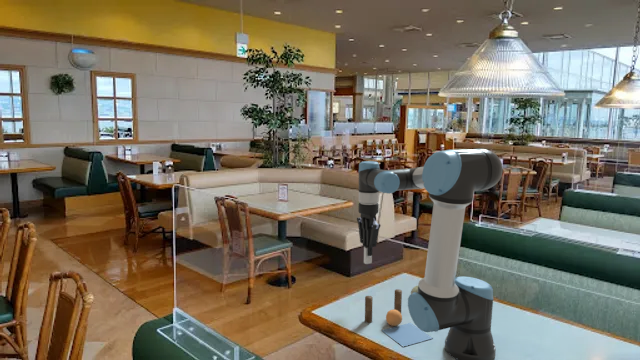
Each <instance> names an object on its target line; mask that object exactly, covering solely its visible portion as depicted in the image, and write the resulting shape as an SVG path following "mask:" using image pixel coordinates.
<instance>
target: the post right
mask: <svg viewBox="0 0 640 360" xmlns="http://www.w3.org/2000/svg"><path fill="white" fill-rule="evenodd" d="M402 294H403V290H402V289H394V306H393V308H394V309H395V310H398V311H399V312H400V313H401V314H402V302H403V301H402V299H403V298H402V297H403V296H402Z"/></svg>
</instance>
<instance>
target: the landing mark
mask: <svg viewBox="0 0 640 360" xmlns="http://www.w3.org/2000/svg"><path fill="white" fill-rule="evenodd" d="M381 332H383V333H384V334H385V335H387V336H388V337H389V338H391V339H392V340H393V341H395V343H397V344H398V343H399V344H400V345H399V344H398V345H399V346H401V347H402V345H403V347H402V348H405V347H404V346H406V347H409V346H413V345H416V344H419V343H422V342H426V341H427V342H428V341H430V340H433V337H431V336H430V335H429V334H427V332H424V331H422V330H420V329H419V328H418V327H417V326H416V325H414V324H413V323H411V322H408V323H403V324H399V325H398V326H392V327H390V328H389V327H388V328H384V329H381ZM408 345H409V346H408Z"/></svg>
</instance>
